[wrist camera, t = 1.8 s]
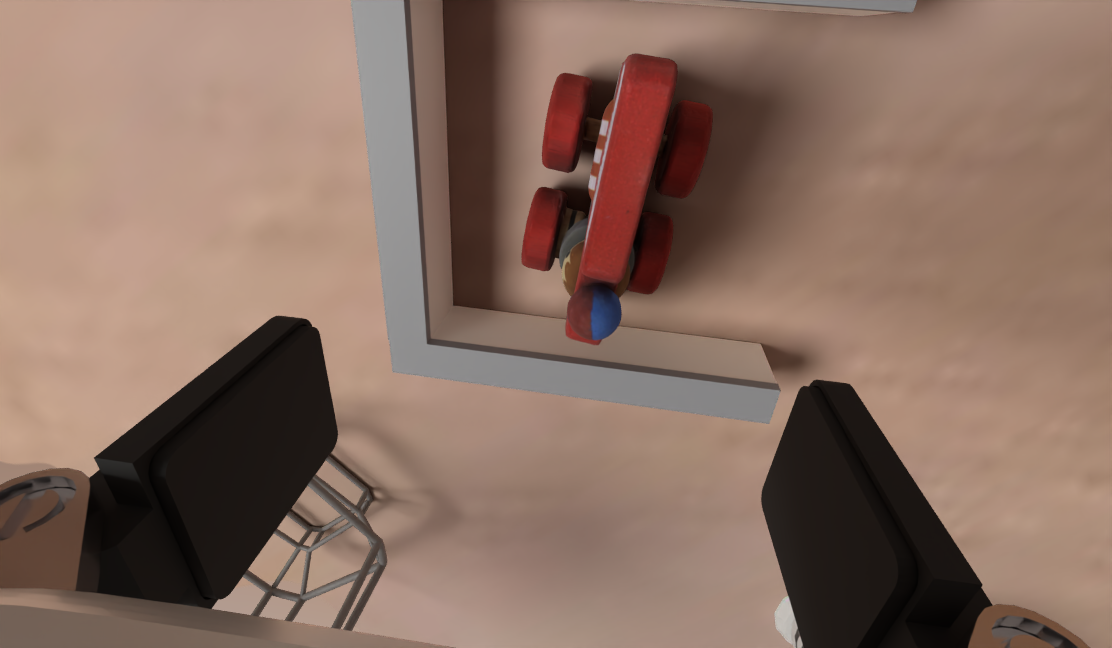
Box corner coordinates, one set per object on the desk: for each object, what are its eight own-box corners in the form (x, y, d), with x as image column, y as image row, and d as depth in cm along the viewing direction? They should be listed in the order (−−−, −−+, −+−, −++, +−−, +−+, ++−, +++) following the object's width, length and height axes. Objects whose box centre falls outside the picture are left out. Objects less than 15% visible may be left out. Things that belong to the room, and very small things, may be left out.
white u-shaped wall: (879, -44, 20) (939, -65, 16) (751, 373, 30) (769, 423, 26) (393, -73, 22) (340, -99, 18) (422, 330, 32) (391, 372, 28)
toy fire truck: (524, 277, 29) (474, 382, 20) (570, 32, 23) (529, 26, 14) (642, 306, 29) (645, 425, 20) (720, 68, 23) (776, 85, 14)
